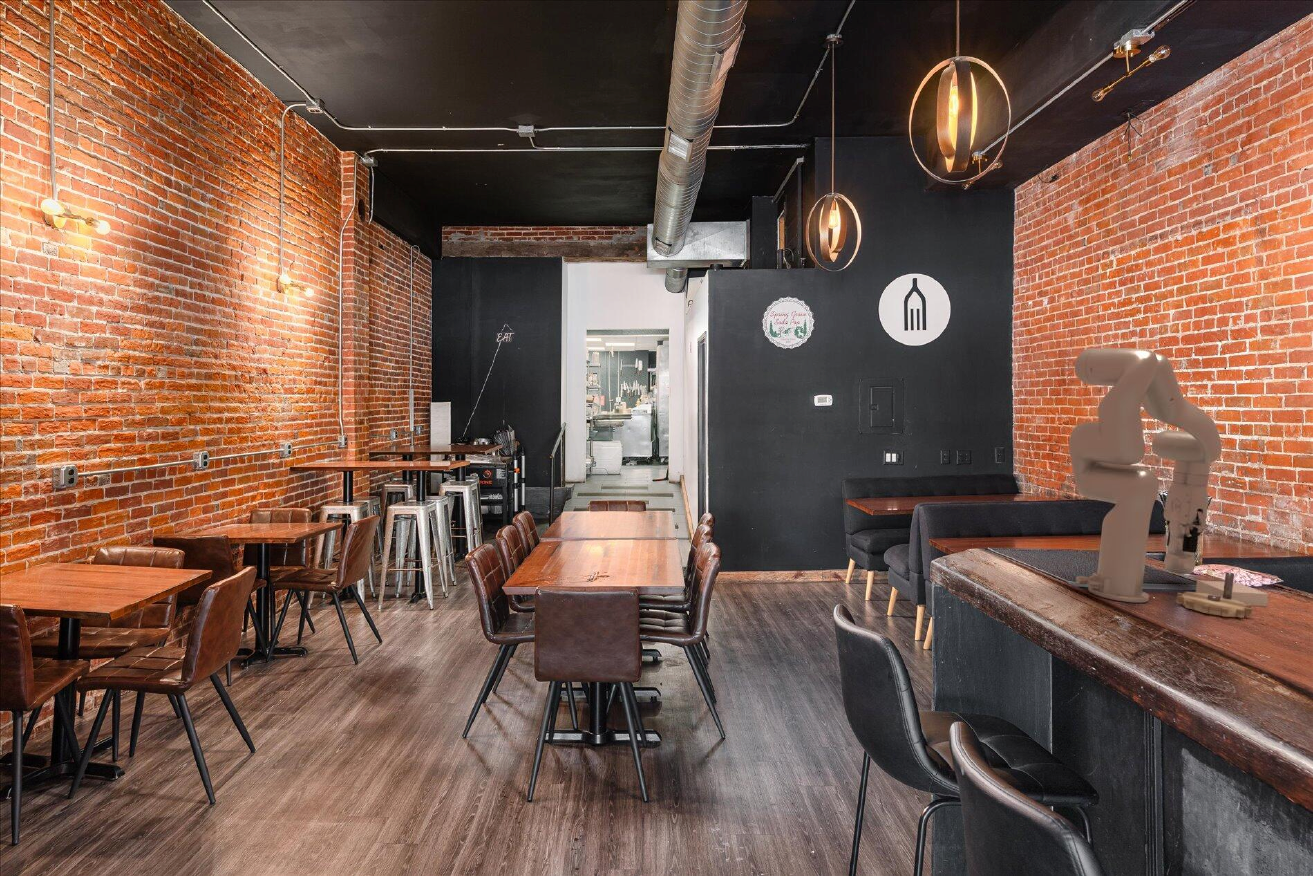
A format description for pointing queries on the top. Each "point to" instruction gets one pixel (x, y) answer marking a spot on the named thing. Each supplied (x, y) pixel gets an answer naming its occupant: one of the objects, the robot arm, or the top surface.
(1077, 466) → the robot arm
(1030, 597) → the top surface
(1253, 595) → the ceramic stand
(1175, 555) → the plastic bottle
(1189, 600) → the base with upright peg
